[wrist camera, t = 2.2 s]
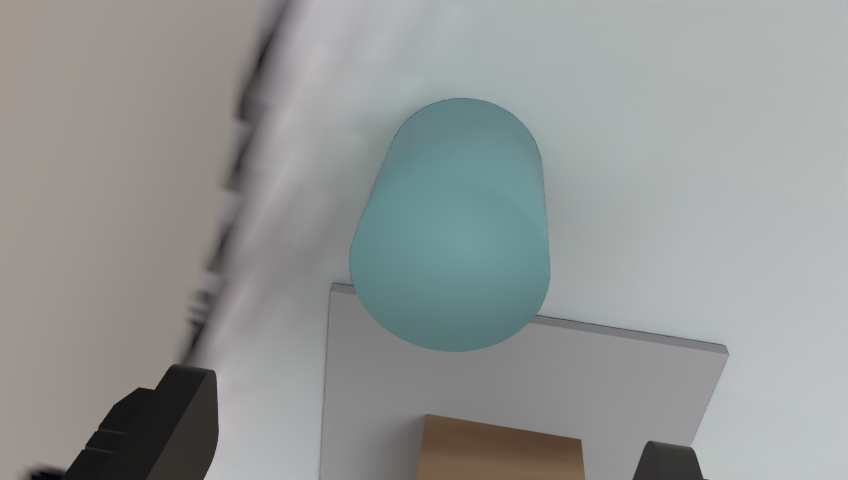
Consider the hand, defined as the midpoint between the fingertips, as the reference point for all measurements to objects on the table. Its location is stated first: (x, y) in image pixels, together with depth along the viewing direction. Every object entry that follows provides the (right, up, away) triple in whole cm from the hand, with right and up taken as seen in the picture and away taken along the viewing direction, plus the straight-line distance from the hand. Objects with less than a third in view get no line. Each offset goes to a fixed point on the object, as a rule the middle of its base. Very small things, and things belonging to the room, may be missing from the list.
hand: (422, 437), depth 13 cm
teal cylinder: (+1, +6, +10) cm, 11 cm away
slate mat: (+3, -6, +16) cm, 17 cm away
